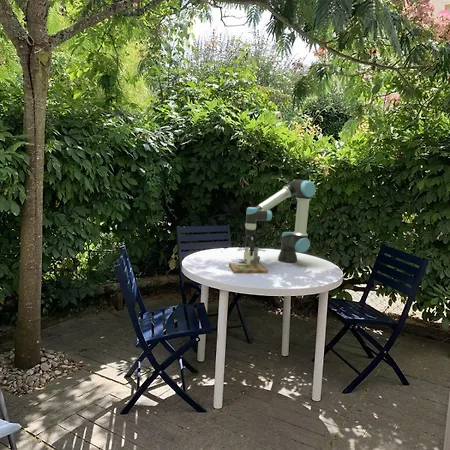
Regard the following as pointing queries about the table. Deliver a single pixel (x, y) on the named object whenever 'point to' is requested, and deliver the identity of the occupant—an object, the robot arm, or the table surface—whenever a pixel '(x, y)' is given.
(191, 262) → the table surface
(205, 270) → the table surface
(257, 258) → the camera
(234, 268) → the tuner board
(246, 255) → the cream pointer block
